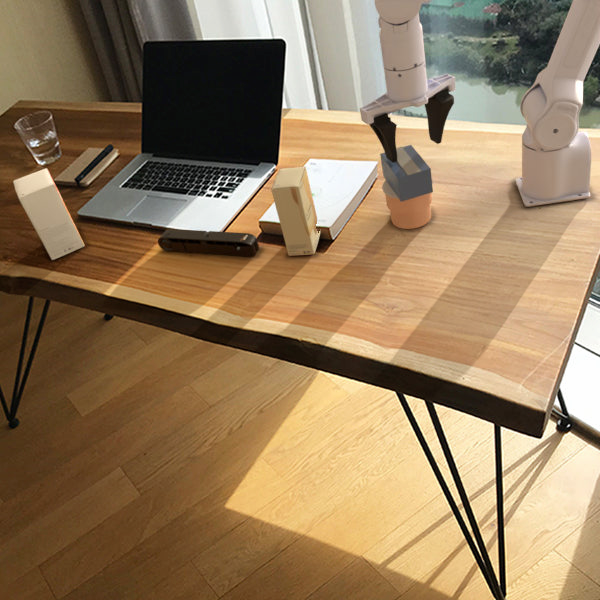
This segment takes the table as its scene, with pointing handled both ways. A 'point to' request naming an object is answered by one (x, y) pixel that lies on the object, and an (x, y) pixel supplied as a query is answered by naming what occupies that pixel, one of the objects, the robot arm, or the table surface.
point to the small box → (48, 213)
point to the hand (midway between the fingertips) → (414, 150)
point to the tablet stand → (209, 242)
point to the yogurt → (408, 209)
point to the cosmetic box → (296, 210)
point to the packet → (407, 174)
